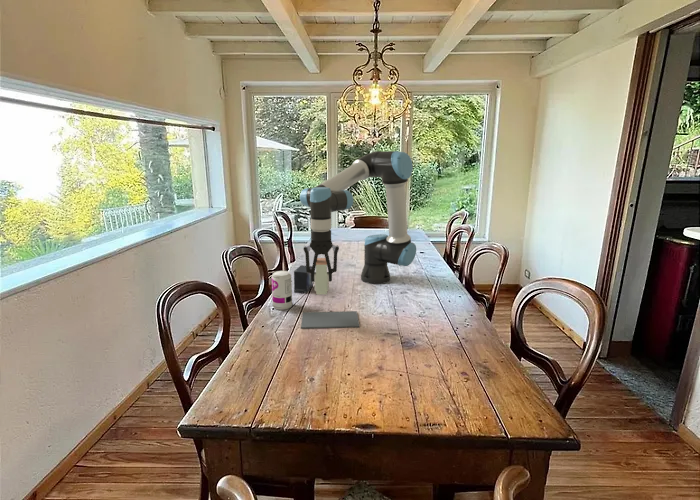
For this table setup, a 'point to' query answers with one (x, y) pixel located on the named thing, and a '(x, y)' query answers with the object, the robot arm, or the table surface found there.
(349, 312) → the mat
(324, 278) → the slab
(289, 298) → the supplement can
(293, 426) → the table surface
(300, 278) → the small box
